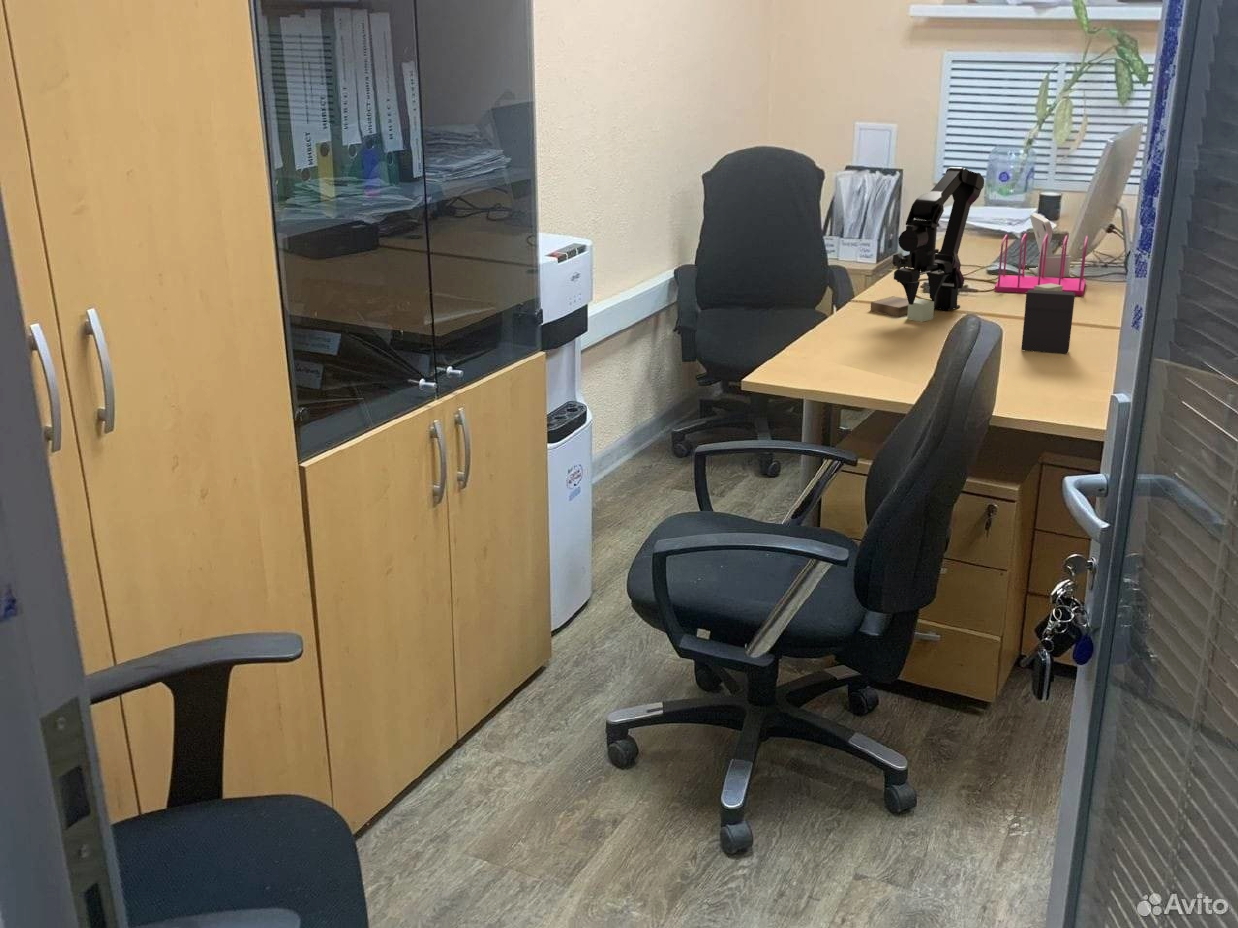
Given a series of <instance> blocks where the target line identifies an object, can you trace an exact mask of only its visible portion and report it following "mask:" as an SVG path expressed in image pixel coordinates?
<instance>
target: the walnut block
mask: <svg viewBox="0 0 1238 928" xmlns="http://www.w3.org/2000/svg"><path fill="white" fill-rule="evenodd" d="M870 312H875V313H880V314H885V315H888V316H889V315H890V316H894V317H902V316H907V315H908V299H907V298H906V297H900V296H894V295H893V296H888V297H884V298H880V299H876V300H874V301H871V302H870Z"/></svg>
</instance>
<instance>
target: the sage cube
mask: <svg viewBox="0 0 1238 928" xmlns="http://www.w3.org/2000/svg"><path fill="white" fill-rule="evenodd" d="M934 311H935V308H934V301H932V300H928V299H923V298H917V299H916V298H915V300H914V303H913V305H910V304H909V302H908V314H906V317H907V320H911V321H914V322H915V321H916V322H921V323H923V322H927V321H930V320H933V319H934Z"/></svg>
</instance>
